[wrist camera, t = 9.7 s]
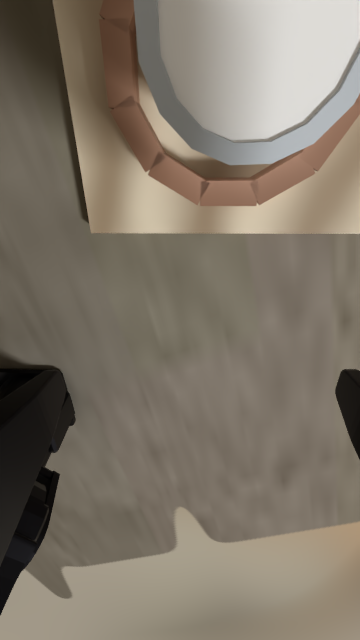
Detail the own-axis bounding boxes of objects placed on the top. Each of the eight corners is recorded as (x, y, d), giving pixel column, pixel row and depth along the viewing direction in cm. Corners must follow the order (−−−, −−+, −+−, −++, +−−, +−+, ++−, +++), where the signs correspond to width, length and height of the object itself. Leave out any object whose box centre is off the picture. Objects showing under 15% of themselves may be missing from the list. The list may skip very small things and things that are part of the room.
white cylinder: (344, 37, 13) (472, -50, 7) (245, 183, 16) (275, 209, 10) (215, -88, 11) (237, -343, 5) (134, 102, 14) (90, 76, 8)
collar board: (95, 228, 19) (82, 240, 17) (32, -180, 11) (-8, -258, 9) (354, 229, 18) (375, 241, 16) (481, -210, 10) (556, -302, 8)
